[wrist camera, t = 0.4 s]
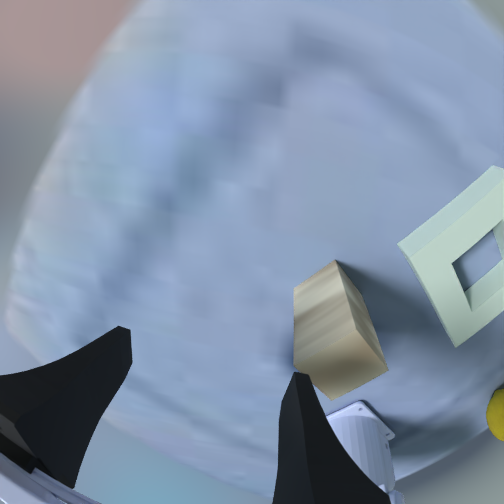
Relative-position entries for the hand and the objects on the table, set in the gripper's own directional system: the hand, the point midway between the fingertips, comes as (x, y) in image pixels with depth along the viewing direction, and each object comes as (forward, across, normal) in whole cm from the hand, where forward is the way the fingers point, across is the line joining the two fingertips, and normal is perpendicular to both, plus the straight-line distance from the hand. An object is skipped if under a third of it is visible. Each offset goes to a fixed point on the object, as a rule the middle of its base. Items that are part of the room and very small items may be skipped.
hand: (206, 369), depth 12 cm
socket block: (+10, -17, -5) cm, 21 cm away
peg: (+10, -6, 0) cm, 12 cm away
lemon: (+10, -32, +9) cm, 35 cm away
